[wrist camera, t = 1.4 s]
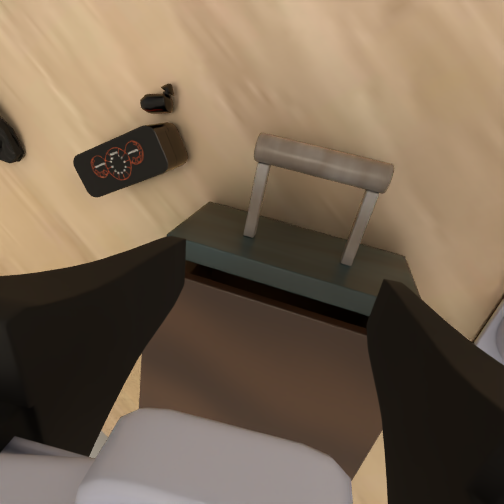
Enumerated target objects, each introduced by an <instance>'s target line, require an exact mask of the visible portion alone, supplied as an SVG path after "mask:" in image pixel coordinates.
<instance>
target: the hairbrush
mask: <svg viewBox="0 0 504 504" xmlns="http://www.w3.org/2000/svg"><path fill="white" fill-rule="evenodd" d="M24 154H25V152H24V150H23V148H22V146H21V144H20V142H19V140H18V138H17V137H16V135H15V133H14V131H13V129H12V128H11V127H10V126H9V125H8V124H7V123H6V122H5V121H4V120H3V119H2V118H1V117H0V160H2V161H5V162H8V163H13V162H16V161H20V160H21V158H22V157H23V155H24Z"/></svg>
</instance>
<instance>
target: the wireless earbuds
mask: <svg viewBox="0 0 504 504" xmlns="http://www.w3.org/2000/svg"><path fill="white" fill-rule="evenodd" d="M161 88H162V89H163V90H165V92H163V94H147V95H145V96H144V97H143V98H142V99H141V102H140V103H141V108H142V109H143V110H144V111H146V112H148V113H151V114H162V113H171V112H172V111H173V101H172V98H171V95H173V96H174V91H173V87H172V85H171V84H167V85H164V86H162V87H161ZM170 94H171V95H170ZM187 159H188V155H187V151H186V149H185V146H184V144H183V141H182V139H181V137H180V134H179V132H178V129H177V128H176V126H175V125H174V124H172V123H169V122H165V123H158V124H151V125H144V126H141V127H139V128H137V129H134V130H132V131H130V132H128V133H125V134H123V135H121V136H119V137H116V138H114V139H112V140H110V141H107V142H105V143H103V144H101V145H98V146H96V147H94V148H92V149H89V150H87V151H85V152H83V153H80V154H78V155H77V156H75V158H74V161H73V163H74V167H75V169H76V171H77V173H78V175H79V177H80V178H81V180H82V182H83V184H84V186H85V188H86V190H87V191H88V193H89V194H90V195H91V196H93V197H101V196H103V195H106V194H109V193H111V192H114V191H117V190H119V189H122V188H125V187H128V186H130V185H133V184H136V183H138V182H141V181H144V180H146V179H149V178H152V177H154V176H157V175H160V174H163V173H165V172H167V171H170V170H172V169H174V168H177V167H179V166H182V165H183V164H185V163H186V161H187Z"/></svg>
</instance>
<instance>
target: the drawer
mask: <svg viewBox="0 0 504 504" xmlns="http://www.w3.org/2000/svg"><path fill="white" fill-rule="evenodd" d="M254 160H255V161H257V162H259V163H258V164H257V169H256V174H255V179H254V184H253V189H252V194H251V199H250V204H249V209H248V212H245V211H241V210H238V209H234V208H231V207H227V206H223V205H220V204H216V203H213V202H208V203H207V204H206V205H204V206H203V207H202V208H201V209H199V210H198V211H197V212H195V213H194V214H193V215H191V216H190V217H189V218H188V219H186V220H185V221H184V222H182V223H181V224H180V225H179V226H177V227H176V228H175V229H173V230H172V231H171V232H169V233H168V234H167V236H174V237H179V238H184V239H186V257H185V260H186V261H185V272H187V273H190V274H193V275H196V276H200V277H203V278H206V279H209V280H212V281H216V282H219V283H222V284H225V285H228V286H232V287H235V288H238V289H241V290H244V291H248V292H251V293H254V294H257V295H260V296H264V297H267V298H270V299H273V300H276V301H279V302H283V303H286V304H289V305H292V306H295V307H299V308H302V309H305V310H308V311H311V312H315V313H318V314H321V315H324V316H327V317H331V318H334V319H337V320H340V321H343V322H347V323H350V324H353V325H356V326H359V327H363V328H366V329H367V325H366V324H367V322H368V319H369V316H370V314H371V311H372V308H373V306H374V303H375V300H376V298H377V295H378V292H379V290H380V287H381V284H382V282H383V279H387V280H392V281H397V282H402V283H403V284H405V285H406V286H407V287H408V288H409V289H411V290H412V291H413V292H414V293H415V294H416V295H417V296H418V297H419V298H421V297H420V295H419V292H418V289H417V287H416V284H415V282H414V279H413V276H412V274H411V271H410V268H409V266H408V263H407V260H406V258H405V256H403V255H399V254H395V253H392V252H388V251H385V250H381V249H378V248H374V247H370V246H367V245H363V244H360V242H361V240H362V237H363V235H364V232H365V229H366V227H367V224H368V222H369V219H370V217H371V214H372V211H373V209H374V206H375V204H376V201H377V199H378V196H379V193H385V191H386V190H387V188H388V186H389V184H390V182H391V179H392V176H393V172H394V165H393V164H389V163H385V162H381V161H377V160H373V159H369V158H365V157H361V156H357V155H352V154H348V153H344V152H340V151H336V150H332V149H328V148H324V147H320V146H315V145H311V144H307V143H303V142H299V141H295V140H291V139H287V138H283V137H278V136H274V135H270V134H266V133H260V135H259V137H258V139H257V142H256V146H255V151H254ZM271 165H273V166H276V167H280V168H284V169H288V170H292V171H296V172H300V173H304V174H308V175H312V176H315V177H319V178H323V179H327V180H331V181H335V182H339V183H343V184H347V185H351V186H354V187H358V188H362V189H366V190H365V193H364V196H363V199H362V201H361V204H360V207H359V210H358V212H357V215H356V218H355V221H354V223H353V226H352V229H351V231H350V234H349V237H348V240H345V239H342V238H338V237H335V236H331V235H327V234H324V233H320V232H317V231H313V230H309V229H306V228H302V227H299V226H295V225H292V224H288V223H284V222H281V221H277V220H274V219H270V218H266V217H263V216H260V212H261V207H262V203H263V198H264V194H265V189H266V185H267V180H268V176H269V171H270V167H271Z"/></svg>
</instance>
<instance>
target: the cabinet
mask: <svg viewBox="0 0 504 504" xmlns="http://www.w3.org/2000/svg"><path fill="white" fill-rule="evenodd" d="M185 261H186V260H185ZM140 408H158V409H171V410H175V411H179V412H183V413H187V414H190V415H194V416H198V417H202V418H206V419H210V420H214V421H217V422H221V423H225V424H229V425H233V426H237V427H241V428H245V429H248V430H252V431H256V432H260V433H264V434H268V435H272V436H275V437H279V438H283V439H287V440H291V441H295V442H299V443H302V444H305V445H307V446H309V447H311V448H314V449H316V450H318V451H320V452H323V453H325V454H327V455H329V456H330V457H331V458H333V459H334V460H335V462H336V463H337V464H338V465H339V466H340V467H341V468H342V469H343V470H344V472H345V473H346V474H347V475H348V476H349V477H350V478H351V481H352V480H353V478H354V476H355V475H356V473H357V471H358V470H359V468H360V466H361V465H362V463H363V461H364V460H365V458H366V456H367V455H368V453H369V451H370V450H371V448H372V446H373V445H374V443H375V441H376V440H377V438H378V436H379V435H380V433H381V431H382V430H383V428H382V418H381V412H380V406H379V401H378V397H377V392H376V387H375V382H374V378H373V373H372V368H371V363H370V358H369V353H368V345H367V329H366V328H363V327H359V326H356V325H353V324H350V323H347V322H343V321H340V320H337V319H334V318H331V317H327V316H324V315H321V314H318V313H315V312H311V311H308V310H305V309H302V308H299V307H295V306H292V305H289V304H286V303H283V302H279V301H276V300H273V299H270V298H267V297H264V296H260V295H257V294H254V293H251V292H248V291H244V290H241V289H238V288H235V287H232V286H228V285H225V284H222V283H219V282H216V281H212V280H209V279H206V278H203V277H200V276H196V275H193V274H190V273H187V272H185V283H184V287H183V289H182V291H181V293H180V295H179V297H178V299H177V301H176V303H175V305H174V307H173V308H172V310H171V311H170V313H169V314H168V316H167V317H166V318H165V320H164V321H163V323H162V324H161V326H160V327H159V329H158V330H157V331H156V333H155V334H154V336H153V337H152V339H151V340H150V341H149V343H148V344H147V346H146V347H145V349H144V350H143V352H142V360H141V379H140V398H139V409H140Z"/></svg>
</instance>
